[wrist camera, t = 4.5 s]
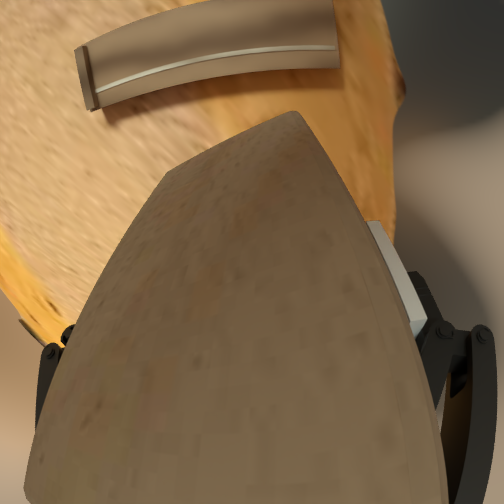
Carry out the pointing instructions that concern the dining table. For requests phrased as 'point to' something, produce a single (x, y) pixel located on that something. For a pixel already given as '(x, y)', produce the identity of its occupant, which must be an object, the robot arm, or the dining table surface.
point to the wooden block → (242, 349)
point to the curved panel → (206, 46)
